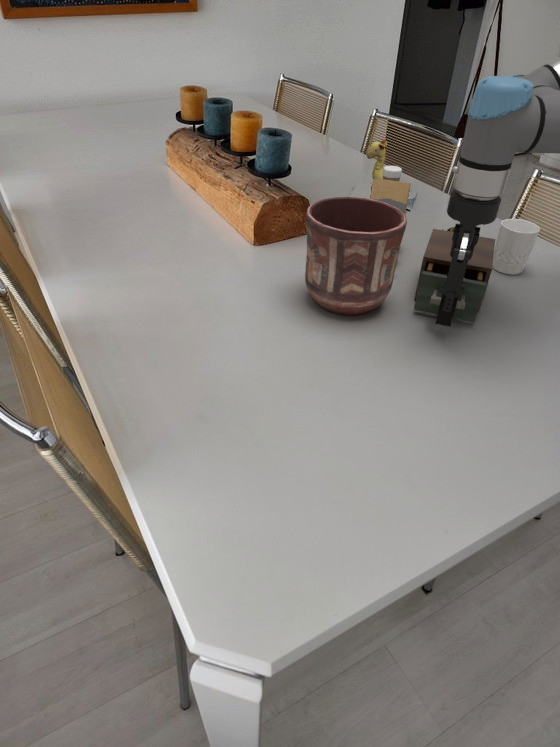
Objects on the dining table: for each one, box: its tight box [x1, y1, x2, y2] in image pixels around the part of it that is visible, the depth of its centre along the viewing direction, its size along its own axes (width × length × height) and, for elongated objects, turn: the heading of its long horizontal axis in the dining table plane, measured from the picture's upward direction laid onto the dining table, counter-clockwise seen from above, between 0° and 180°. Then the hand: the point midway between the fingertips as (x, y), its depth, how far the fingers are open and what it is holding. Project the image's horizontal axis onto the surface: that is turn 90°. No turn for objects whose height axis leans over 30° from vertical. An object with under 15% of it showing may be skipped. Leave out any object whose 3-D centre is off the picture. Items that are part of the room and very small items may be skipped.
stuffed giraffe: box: [366, 137, 416, 209], centre depth 151 cm, size 16×18×16 cm
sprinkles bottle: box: [383, 165, 403, 182], centre depth 138 cm, size 5×5×13 cm
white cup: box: [492, 218, 541, 276], centre depth 119 cm, size 8×8×10 cm
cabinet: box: [413, 228, 496, 314], centre depth 110 cm, size 15×13×10 cm
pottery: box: [304, 196, 408, 316], centre depth 102 cm, size 18×18×18 cm
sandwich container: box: [370, 178, 412, 269], centre depth 120 cm, size 9×15×15 cm, turn 166°
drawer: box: [413, 262, 486, 323], centre depth 104 cm, size 18×11×8 cm, turn 160°
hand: (443, 323), depth 97 cm, fingers closed
